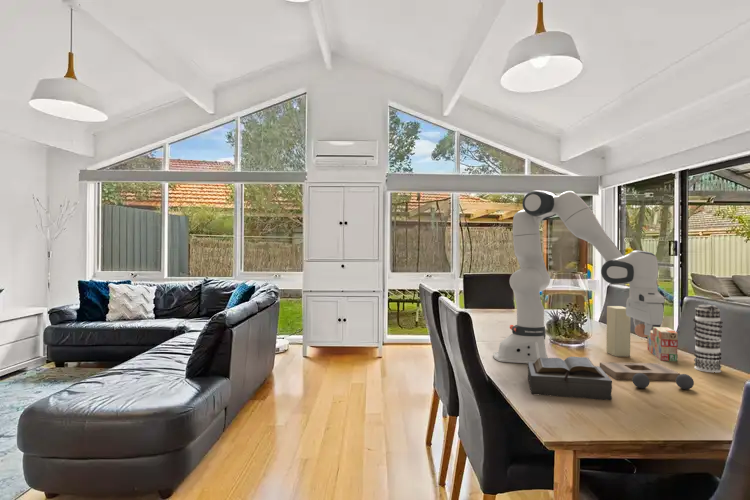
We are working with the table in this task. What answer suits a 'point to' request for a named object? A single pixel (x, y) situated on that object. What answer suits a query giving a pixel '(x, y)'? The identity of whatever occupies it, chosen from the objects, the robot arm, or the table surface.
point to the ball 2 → (684, 381)
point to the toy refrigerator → (618, 331)
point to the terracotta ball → (640, 330)
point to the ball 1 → (640, 380)
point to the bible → (569, 378)
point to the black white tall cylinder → (707, 338)
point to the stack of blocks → (663, 343)
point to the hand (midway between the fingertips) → (642, 332)
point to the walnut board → (638, 370)
